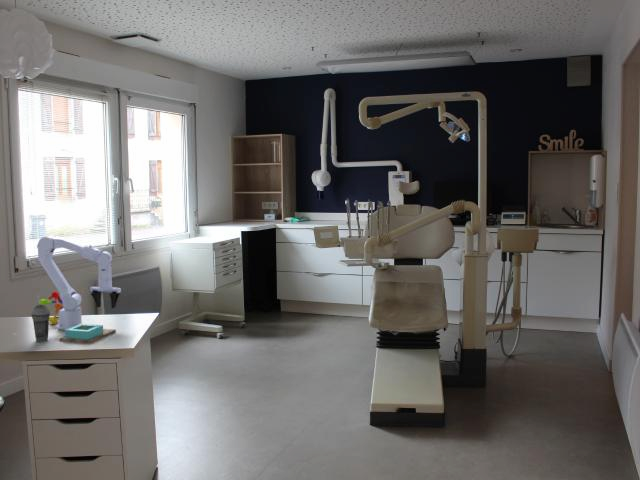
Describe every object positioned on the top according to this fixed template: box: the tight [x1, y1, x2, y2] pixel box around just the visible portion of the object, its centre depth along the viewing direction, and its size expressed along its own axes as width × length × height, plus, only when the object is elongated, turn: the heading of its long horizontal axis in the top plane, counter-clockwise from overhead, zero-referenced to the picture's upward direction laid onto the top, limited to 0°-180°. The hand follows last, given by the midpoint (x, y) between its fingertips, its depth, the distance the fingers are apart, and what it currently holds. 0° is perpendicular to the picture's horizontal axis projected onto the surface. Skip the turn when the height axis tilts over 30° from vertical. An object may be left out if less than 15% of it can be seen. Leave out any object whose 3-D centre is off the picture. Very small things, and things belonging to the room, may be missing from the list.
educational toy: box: [39, 291, 64, 325], centre depth 304 cm, size 16×13×15 cm
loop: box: [64, 323, 104, 340], centre depth 274 cm, size 11×11×4 cm
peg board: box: [59, 325, 117, 344], centre depth 277 cm, size 15×19×6 cm
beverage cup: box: [30, 293, 51, 343], centre depth 269 cm, size 7×7×20 cm
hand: (106, 307), depth 292 cm, fingers open, 7 cm apart
